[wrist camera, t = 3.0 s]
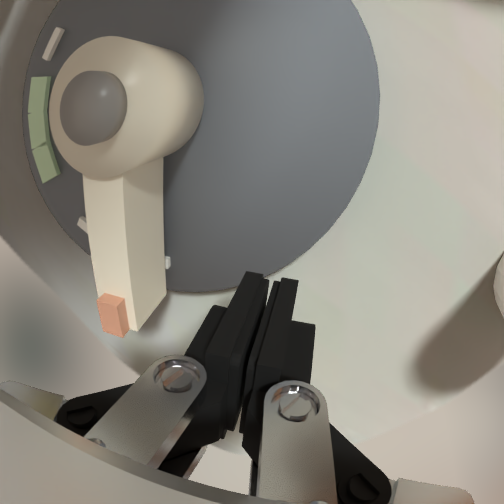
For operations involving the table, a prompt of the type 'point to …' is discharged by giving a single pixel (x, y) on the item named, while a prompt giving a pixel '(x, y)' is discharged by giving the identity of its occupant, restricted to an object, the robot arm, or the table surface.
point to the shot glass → (499, 285)
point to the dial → (230, 126)
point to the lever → (124, 161)
